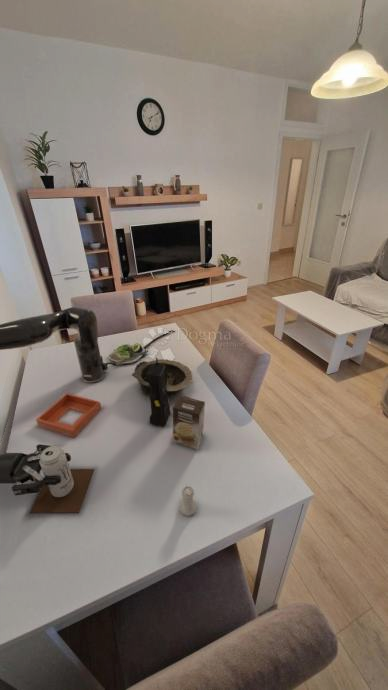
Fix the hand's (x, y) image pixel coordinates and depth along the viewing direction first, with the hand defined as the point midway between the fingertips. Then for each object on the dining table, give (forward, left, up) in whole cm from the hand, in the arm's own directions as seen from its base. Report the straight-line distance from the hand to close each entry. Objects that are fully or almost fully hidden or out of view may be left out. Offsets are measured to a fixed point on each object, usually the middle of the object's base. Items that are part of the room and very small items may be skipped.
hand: (65, 468), depth 74 cm
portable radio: (-33, +12, -10) cm, 37 cm away
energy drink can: (+1, -2, -9) cm, 10 cm away
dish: (-23, -20, -10) cm, 32 cm away
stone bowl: (-52, +5, -10) cm, 53 cm away
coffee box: (-28, +25, -10) cm, 39 cm away
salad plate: (-69, -23, -10) cm, 74 cm away
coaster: (+1, -2, -10) cm, 10 cm away
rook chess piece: (-6, +33, -10) cm, 35 cm away
